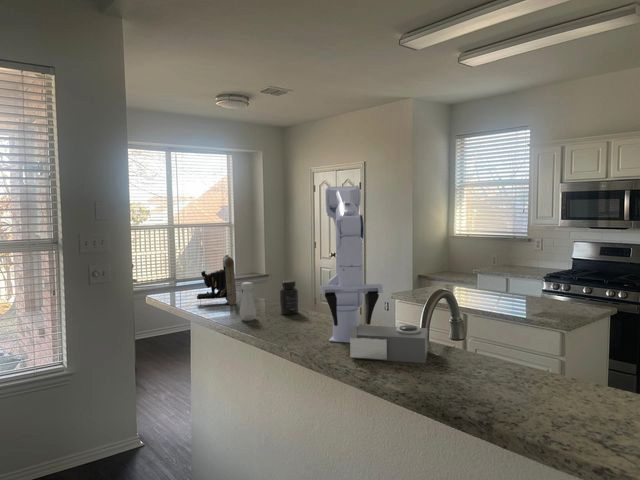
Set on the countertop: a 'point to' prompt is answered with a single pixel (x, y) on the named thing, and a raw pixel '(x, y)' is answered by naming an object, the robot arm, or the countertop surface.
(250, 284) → the salt shaker
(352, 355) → the side door
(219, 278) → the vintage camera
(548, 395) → the countertop surface
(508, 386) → the countertop surface
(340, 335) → the robot arm
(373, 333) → the camera housing
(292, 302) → the supplement bottle
